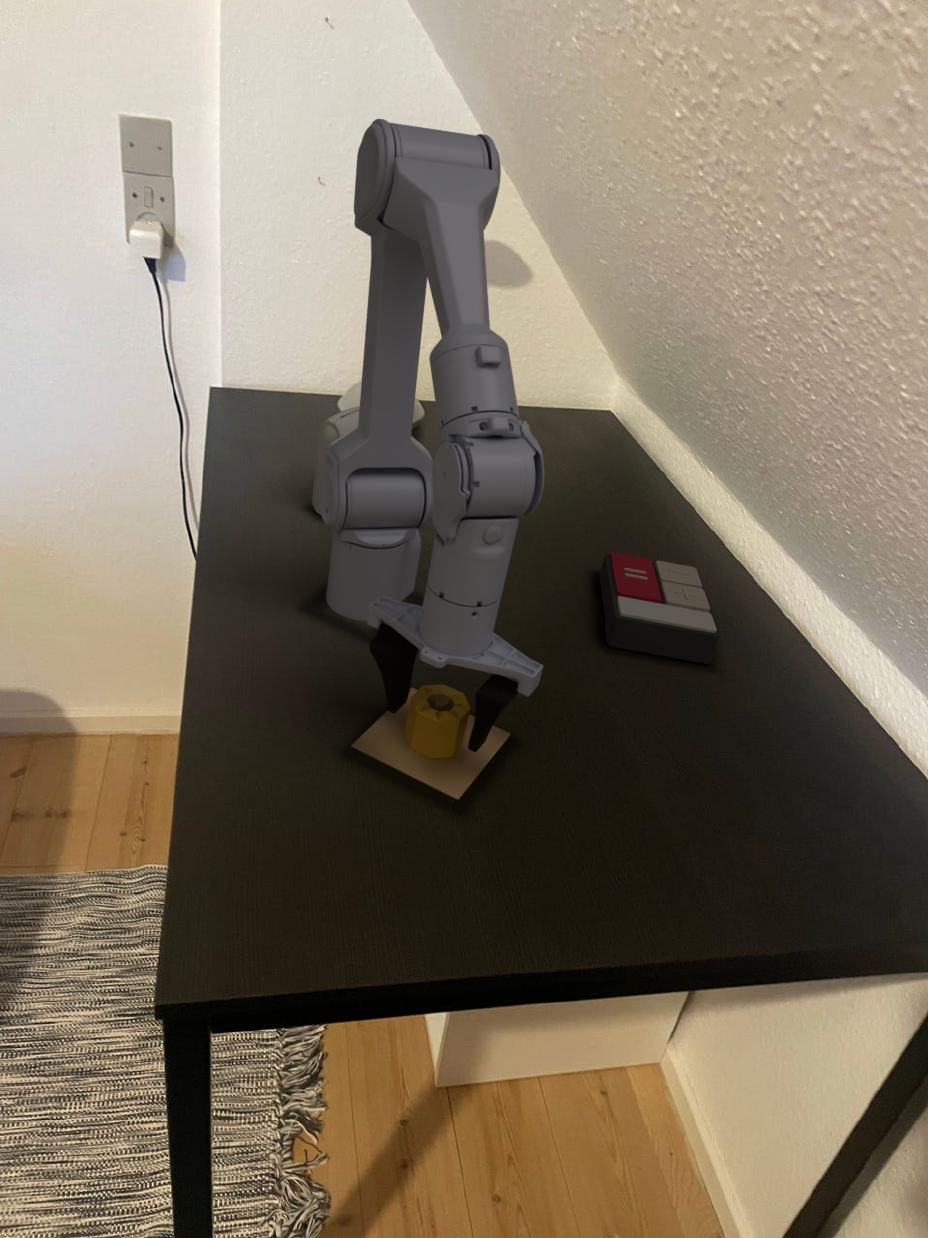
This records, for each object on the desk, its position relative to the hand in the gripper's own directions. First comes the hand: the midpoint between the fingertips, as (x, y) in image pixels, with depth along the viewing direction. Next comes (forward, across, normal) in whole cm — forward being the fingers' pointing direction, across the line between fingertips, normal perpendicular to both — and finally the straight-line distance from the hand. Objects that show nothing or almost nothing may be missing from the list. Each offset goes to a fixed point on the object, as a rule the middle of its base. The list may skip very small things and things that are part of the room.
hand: (436, 725), depth 78 cm
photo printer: (+2, -29, +32) cm, 43 cm away
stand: (+2, 0, 0) cm, 2 cm away
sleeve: (+2, 0, 0) cm, 2 cm away
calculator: (+2, +9, +34) cm, 35 cm away
